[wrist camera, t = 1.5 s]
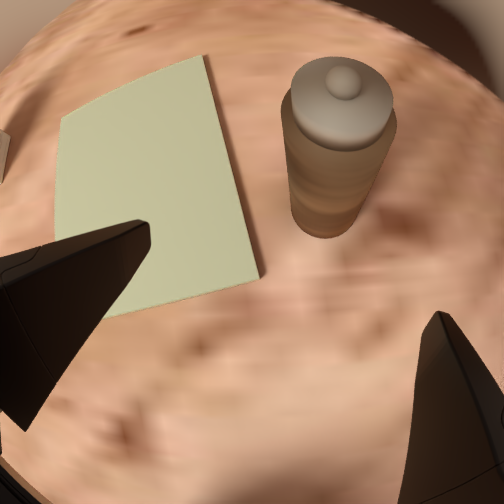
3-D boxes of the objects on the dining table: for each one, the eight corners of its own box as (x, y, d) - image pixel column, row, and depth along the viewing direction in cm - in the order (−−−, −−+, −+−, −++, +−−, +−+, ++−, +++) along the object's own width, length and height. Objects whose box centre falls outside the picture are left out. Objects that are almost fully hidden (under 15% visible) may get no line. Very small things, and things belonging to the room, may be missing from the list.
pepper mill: (365, 228, 22) (436, 113, 8) (301, 246, 23) (301, 139, 9) (343, 169, 23) (373, 26, 10) (283, 185, 24) (259, 43, 10)
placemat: (260, 279, 22) (259, 278, 22) (67, 327, 24) (63, 327, 23) (202, 58, 28) (201, 54, 28) (64, 120, 30) (61, 117, 29)
